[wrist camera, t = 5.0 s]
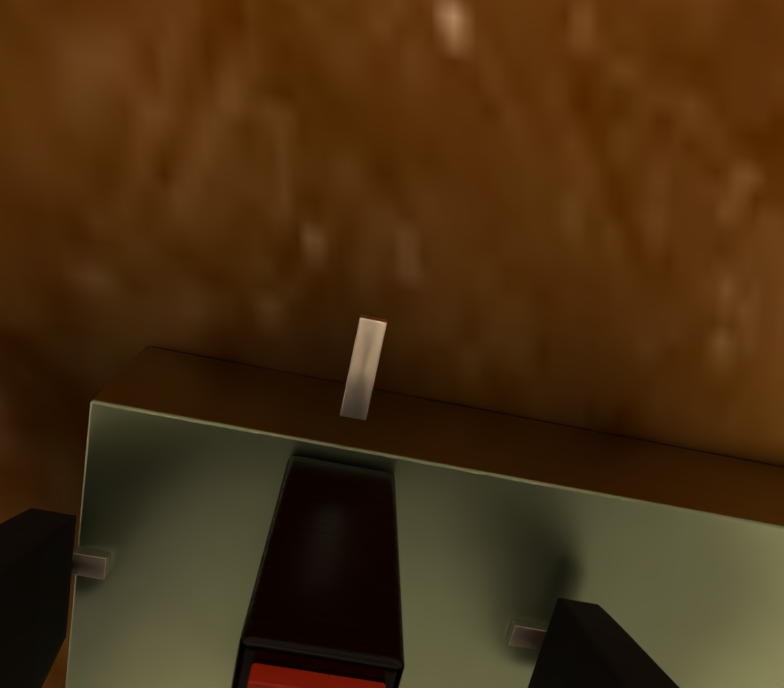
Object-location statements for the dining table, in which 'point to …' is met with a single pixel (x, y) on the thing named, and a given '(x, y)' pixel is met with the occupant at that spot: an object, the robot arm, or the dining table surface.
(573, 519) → the hob
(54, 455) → the dining table surface
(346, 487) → the black block
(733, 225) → the dining table surface
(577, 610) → the robot arm
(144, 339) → the dining table surface
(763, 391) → the dining table surface
